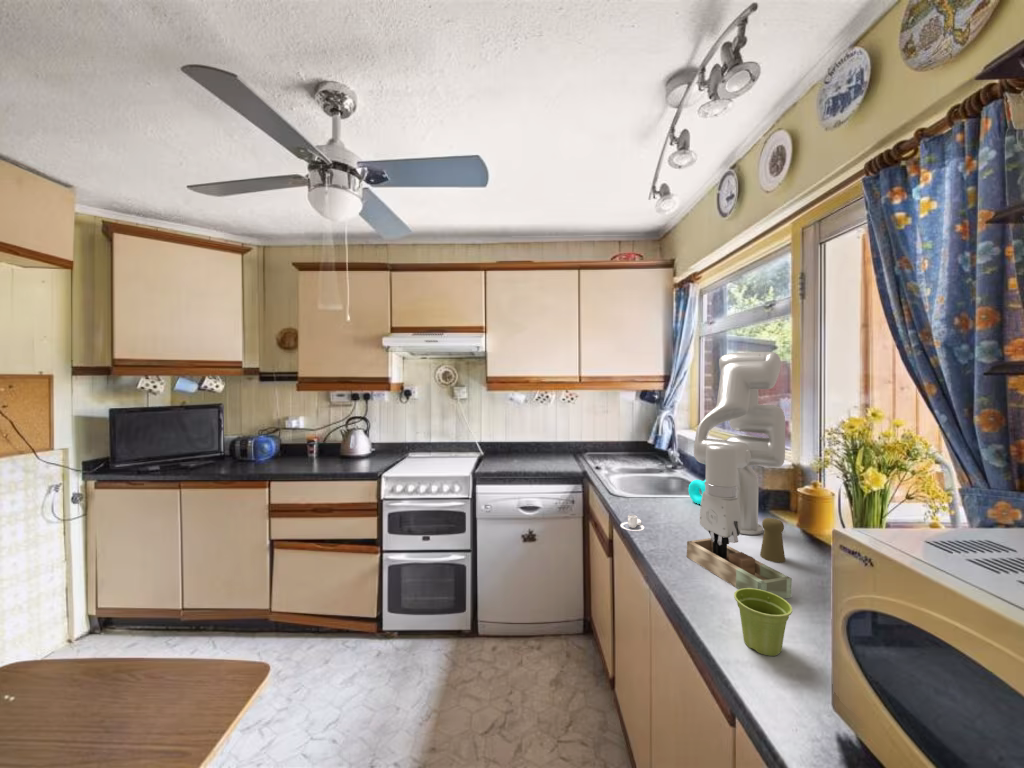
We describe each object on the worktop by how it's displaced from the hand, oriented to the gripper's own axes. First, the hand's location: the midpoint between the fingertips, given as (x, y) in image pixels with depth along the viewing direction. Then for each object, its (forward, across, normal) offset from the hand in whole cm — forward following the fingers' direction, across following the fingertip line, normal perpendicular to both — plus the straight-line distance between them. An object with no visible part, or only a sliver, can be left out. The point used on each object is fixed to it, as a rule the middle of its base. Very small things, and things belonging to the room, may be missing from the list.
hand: (719, 557), depth 107 cm
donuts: (+3, -46, +37) cm, 59 cm away
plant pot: (+3, +28, -17) cm, 33 cm away
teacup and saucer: (+3, -30, -4) cm, 31 cm away
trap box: (+3, +5, 0) cm, 5 cm away
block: (+1, +7, 0) cm, 7 cm away
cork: (+3, 0, +19) cm, 19 cm away
